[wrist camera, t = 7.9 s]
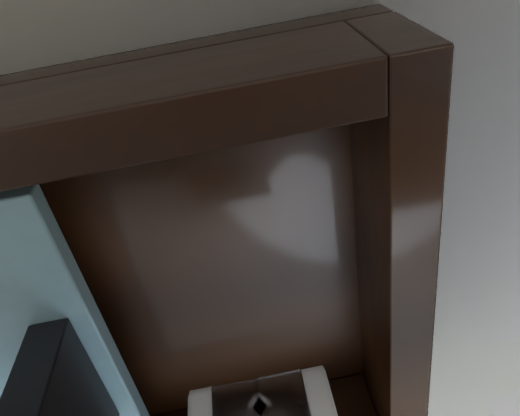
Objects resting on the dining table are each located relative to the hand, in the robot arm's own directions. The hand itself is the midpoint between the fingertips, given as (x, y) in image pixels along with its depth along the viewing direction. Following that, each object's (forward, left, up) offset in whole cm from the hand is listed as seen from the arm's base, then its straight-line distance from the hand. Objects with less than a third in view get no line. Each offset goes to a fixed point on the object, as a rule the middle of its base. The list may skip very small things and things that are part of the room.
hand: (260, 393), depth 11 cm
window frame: (+1, -5, -6) cm, 8 cm away
